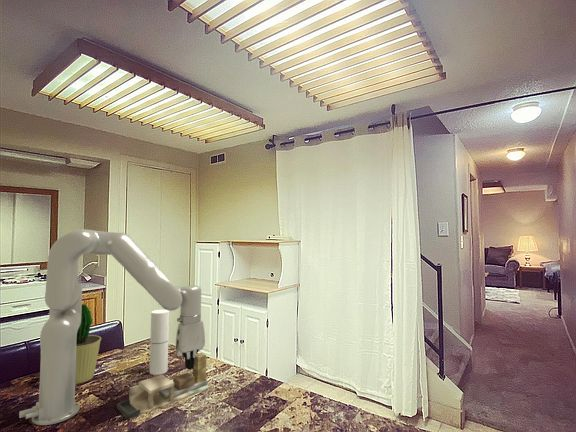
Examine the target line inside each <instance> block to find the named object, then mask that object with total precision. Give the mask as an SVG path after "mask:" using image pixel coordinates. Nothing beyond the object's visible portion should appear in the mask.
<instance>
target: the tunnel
mask: <svg viewBox="0 0 576 432" xmlns="http://www.w3.org/2000/svg"><path fill="white" fill-rule="evenodd" d="M166 388H169V398H168V399H166V398H164V397H163V396H162V395H160V394H159V391H160V390H163V389H166ZM210 389H211V386H210V385H208V384H206V385H204V386H201V387H198V388H195V389H193V390H190V391H187V392H184V393H182V394H179V395H176V396H174V382H173V380H171V379H170V378H168V377H167V376H165V375H164V374H159V375H155V376H154V377H153V376H152V377H149V378H147V379H143V380H140V381H138V384H137V385H133V386H130V387H129V393H128V395H129V398H128V399H126V400H122V401H119V402H117V403H116V409H117V411H119V413H121V414H122V415H123V417H124V418H125V419H126V420H130V419H132V418H135V417H138V416H141V415H143V414H145V413H149V412H151V411H154V410H156V409H158V408H162V407H164V406H167V405H170V404H172V403H174V402H178V401H181V400H183V399H185V398H189V397H191V396H193V395H196V394H199V393H201V392H204V391H207V390H210Z"/></svg>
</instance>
